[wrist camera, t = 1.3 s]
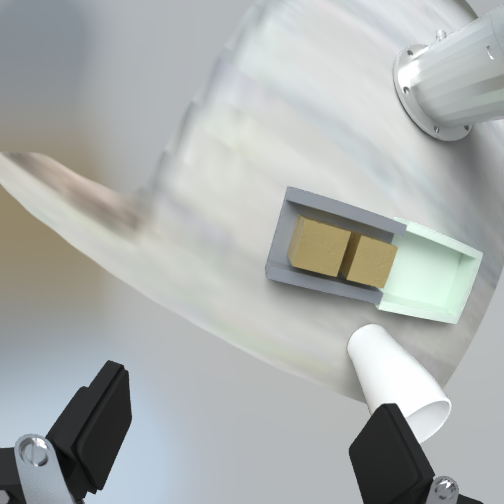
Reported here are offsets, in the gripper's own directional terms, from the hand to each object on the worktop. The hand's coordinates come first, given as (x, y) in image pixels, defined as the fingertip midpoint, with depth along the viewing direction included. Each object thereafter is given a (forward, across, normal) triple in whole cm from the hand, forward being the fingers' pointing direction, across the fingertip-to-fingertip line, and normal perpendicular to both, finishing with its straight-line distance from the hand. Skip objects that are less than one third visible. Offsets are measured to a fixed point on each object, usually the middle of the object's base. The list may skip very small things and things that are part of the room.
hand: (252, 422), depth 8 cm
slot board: (+20, -8, -4) cm, 22 cm away
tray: (+20, -20, -3) cm, 28 cm away
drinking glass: (+20, -16, +7) cm, 27 cm away
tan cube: (+19, -10, -4) cm, 22 cm away
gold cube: (+19, -5, -4) cm, 20 cm away
